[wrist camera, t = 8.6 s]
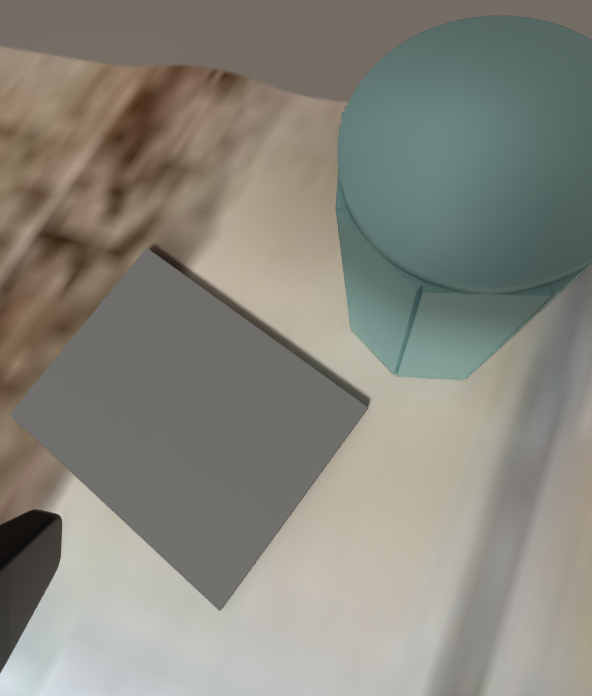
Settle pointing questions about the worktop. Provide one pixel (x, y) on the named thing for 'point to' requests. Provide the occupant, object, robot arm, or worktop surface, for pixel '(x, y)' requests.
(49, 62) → the worktop surface
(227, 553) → the mat
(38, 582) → the robot arm
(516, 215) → the teal domed post
